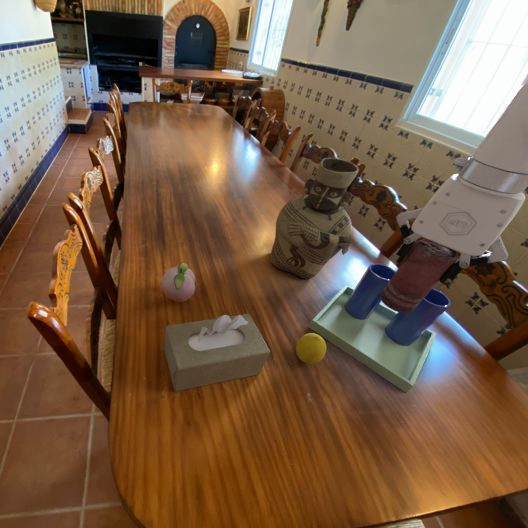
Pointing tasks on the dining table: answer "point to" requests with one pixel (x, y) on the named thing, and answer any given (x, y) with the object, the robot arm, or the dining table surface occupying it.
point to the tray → (373, 340)
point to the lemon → (311, 348)
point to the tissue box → (214, 351)
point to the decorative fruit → (179, 283)
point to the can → (417, 275)
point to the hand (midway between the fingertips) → (421, 268)
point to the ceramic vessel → (315, 221)
